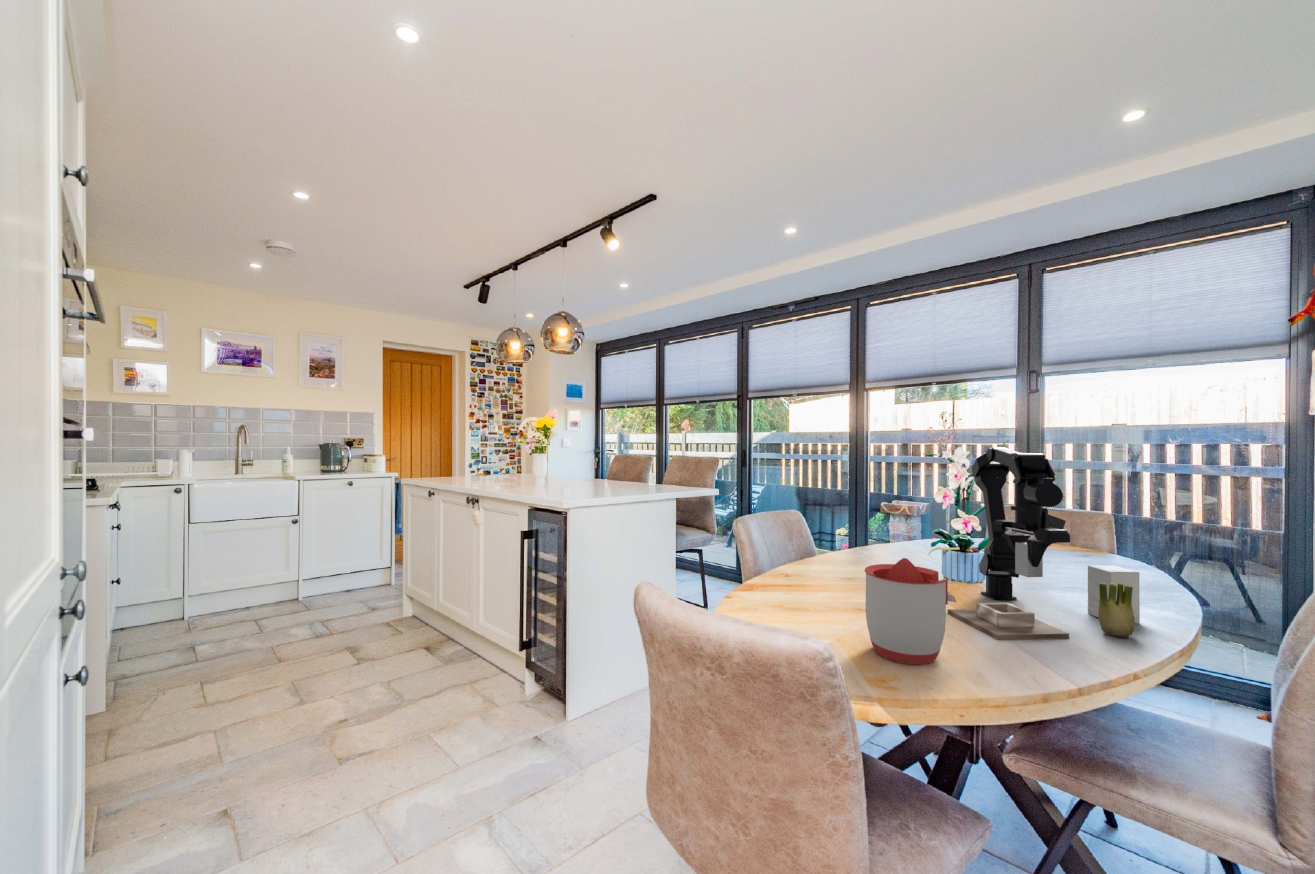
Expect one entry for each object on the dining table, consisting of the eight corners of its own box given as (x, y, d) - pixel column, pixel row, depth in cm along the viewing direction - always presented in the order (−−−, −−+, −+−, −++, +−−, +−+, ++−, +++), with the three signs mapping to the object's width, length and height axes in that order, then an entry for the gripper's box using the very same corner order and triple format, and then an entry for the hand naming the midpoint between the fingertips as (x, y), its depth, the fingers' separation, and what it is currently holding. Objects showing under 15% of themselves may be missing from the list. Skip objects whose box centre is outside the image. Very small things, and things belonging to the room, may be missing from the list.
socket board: (947, 613, 137) (947, 597, 137) (1010, 611, 138) (1010, 596, 138) (997, 639, 119) (997, 621, 119) (1069, 637, 120) (1069, 620, 120)
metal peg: (1015, 573, 136) (1015, 541, 136) (1029, 573, 136) (1029, 541, 136) (1027, 577, 132) (1027, 544, 132) (1042, 576, 132) (1042, 544, 132)
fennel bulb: (1096, 633, 123) (1097, 581, 123) (1105, 629, 126) (1105, 578, 126) (1128, 641, 118) (1129, 587, 118) (1136, 637, 121) (1137, 584, 121)
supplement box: (1141, 623, 130) (1141, 572, 130) (1110, 623, 130) (1110, 571, 130) (1115, 613, 137) (1115, 564, 137) (1086, 613, 138) (1086, 564, 138)
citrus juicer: (969, 675, 101) (969, 569, 101) (871, 666, 104) (872, 564, 104) (942, 643, 116) (942, 552, 116) (858, 637, 120) (858, 548, 120)
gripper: (1091, 507, 126) (1091, 573, 125) (1028, 499, 144) (1028, 556, 144) (1048, 507, 125) (1048, 574, 124) (990, 499, 143) (990, 557, 143)
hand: (1028, 564), depth 134 cm, fingers closed on metal peg, 4 cm apart
